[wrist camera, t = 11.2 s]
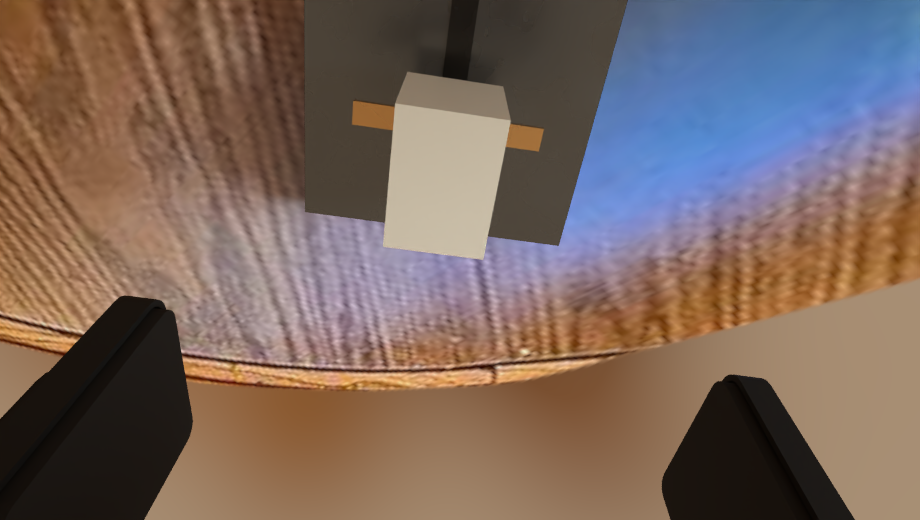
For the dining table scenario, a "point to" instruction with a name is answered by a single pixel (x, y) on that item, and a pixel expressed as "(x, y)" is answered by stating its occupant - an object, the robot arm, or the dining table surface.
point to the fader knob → (445, 165)
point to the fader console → (464, 58)
